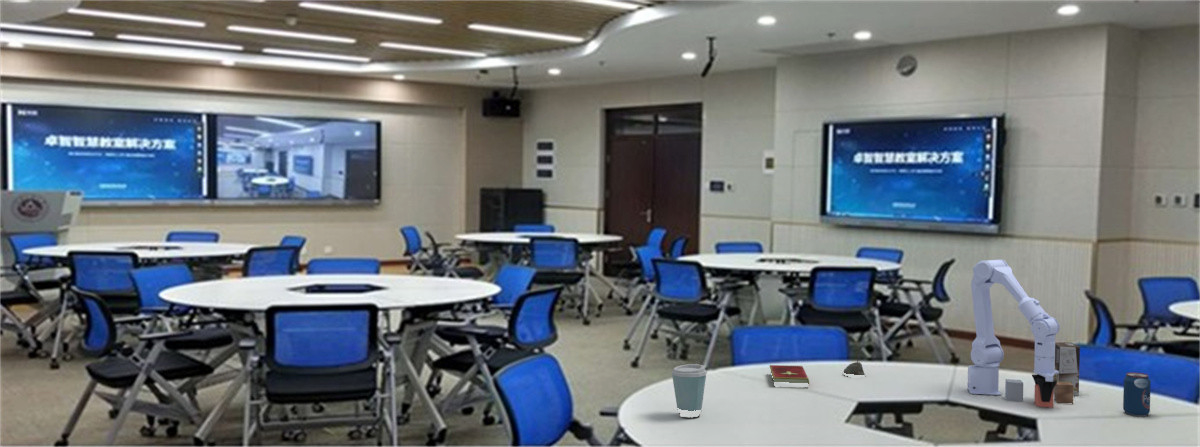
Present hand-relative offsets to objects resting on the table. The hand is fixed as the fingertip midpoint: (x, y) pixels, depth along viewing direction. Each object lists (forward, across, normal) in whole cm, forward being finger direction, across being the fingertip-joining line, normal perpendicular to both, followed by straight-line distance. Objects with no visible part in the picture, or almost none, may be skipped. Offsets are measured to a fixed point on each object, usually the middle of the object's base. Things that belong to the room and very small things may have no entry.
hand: (1043, 399), depth 284 cm
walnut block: (+2, +6, -7) cm, 9 cm away
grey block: (+2, +6, +8) cm, 10 cm away
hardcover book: (+2, +16, +79) cm, 80 cm away
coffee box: (+2, +20, -10) cm, 23 cm away
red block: (+2, 0, 0) cm, 2 cm away
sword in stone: (+2, +31, +56) cm, 64 cm away
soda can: (+2, -5, -24) cm, 25 cm away
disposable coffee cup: (+2, -39, +106) cm, 112 cm away
